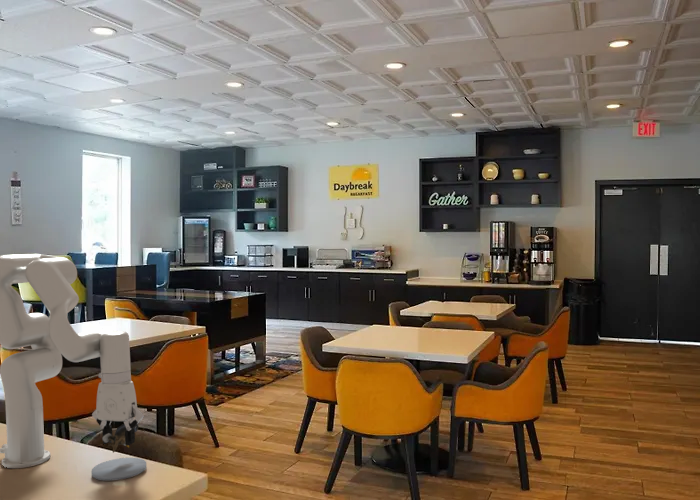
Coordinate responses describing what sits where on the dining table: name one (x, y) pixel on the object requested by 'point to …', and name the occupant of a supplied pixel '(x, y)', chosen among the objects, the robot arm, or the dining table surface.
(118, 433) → the eagle figurine
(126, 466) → the smooth grey pebble
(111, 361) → the robot arm
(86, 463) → the dining table surface
